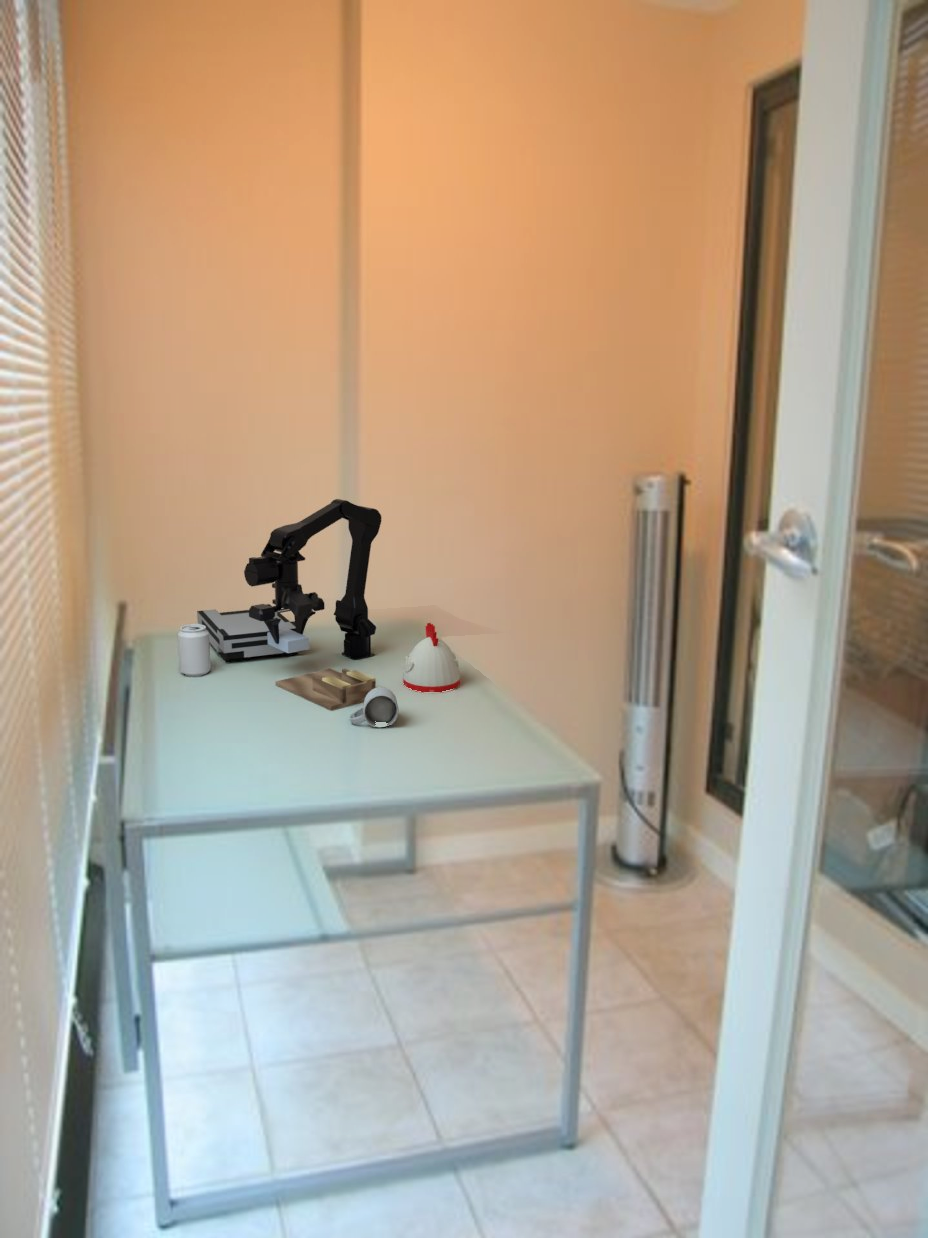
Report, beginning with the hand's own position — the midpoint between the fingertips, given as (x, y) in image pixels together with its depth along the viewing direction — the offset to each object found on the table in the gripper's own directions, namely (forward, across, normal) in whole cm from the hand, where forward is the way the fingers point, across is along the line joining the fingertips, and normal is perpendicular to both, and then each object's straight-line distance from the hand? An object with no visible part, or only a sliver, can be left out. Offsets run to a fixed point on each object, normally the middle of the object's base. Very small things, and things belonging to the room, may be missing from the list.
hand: (288, 641), depth 261 cm
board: (+8, 0, -18) cm, 19 cm away
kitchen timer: (+9, +22, -29) cm, 38 cm away
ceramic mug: (+9, -5, -41) cm, 42 cm away
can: (+9, -18, +15) cm, 25 cm away
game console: (+9, +5, +28) cm, 30 cm away
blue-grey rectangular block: (+1, 0, 0) cm, 1 cm away
